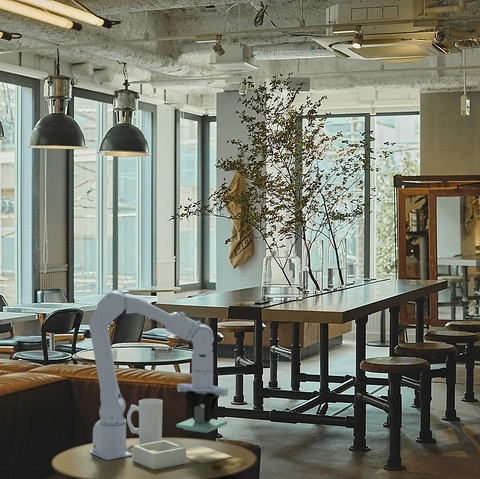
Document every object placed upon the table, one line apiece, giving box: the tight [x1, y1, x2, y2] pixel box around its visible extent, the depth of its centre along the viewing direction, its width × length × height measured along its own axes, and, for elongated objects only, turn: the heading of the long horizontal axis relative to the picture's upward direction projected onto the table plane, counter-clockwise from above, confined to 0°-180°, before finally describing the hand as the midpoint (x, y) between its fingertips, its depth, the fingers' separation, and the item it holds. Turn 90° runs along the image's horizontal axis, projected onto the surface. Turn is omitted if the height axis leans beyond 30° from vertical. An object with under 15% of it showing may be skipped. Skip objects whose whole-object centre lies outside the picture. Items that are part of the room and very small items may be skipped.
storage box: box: [132, 439, 187, 470], centre depth 238 cm, size 10×10×4 cm
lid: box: [176, 403, 228, 434], centre depth 245 cm, size 10×10×6 cm
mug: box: [126, 398, 163, 445], centre depth 258 cm, size 10×7×12 cm, turn 90°
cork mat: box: [186, 445, 234, 465], centre depth 246 cm, size 14×10×1 cm
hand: (202, 420), depth 245 cm, fingers closed on lid, 3 cm apart
